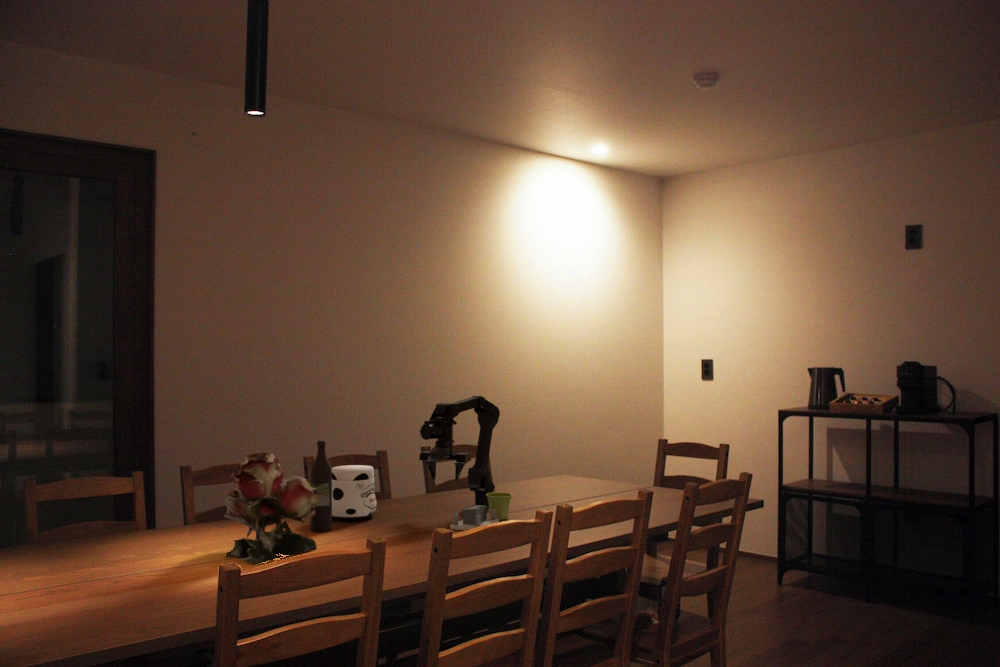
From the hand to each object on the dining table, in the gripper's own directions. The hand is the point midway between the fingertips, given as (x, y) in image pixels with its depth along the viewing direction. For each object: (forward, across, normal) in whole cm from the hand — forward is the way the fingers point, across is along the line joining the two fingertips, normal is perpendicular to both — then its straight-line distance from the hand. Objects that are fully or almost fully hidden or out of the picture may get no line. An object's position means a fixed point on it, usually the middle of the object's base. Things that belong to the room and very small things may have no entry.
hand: (445, 480), depth 291 cm
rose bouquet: (+13, -28, -66) cm, 73 cm away
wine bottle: (+13, -28, -37) cm, 48 cm away
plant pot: (+13, +20, +3) cm, 24 cm away
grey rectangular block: (+12, +17, -11) cm, 23 cm away
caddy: (+13, +17, -11) cm, 24 cm away
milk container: (+13, -30, -15) cm, 36 cm away
